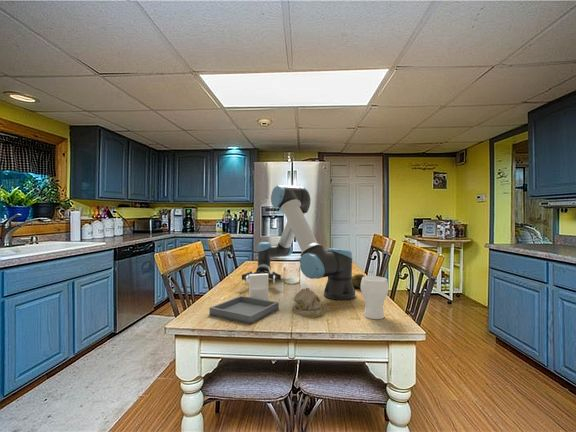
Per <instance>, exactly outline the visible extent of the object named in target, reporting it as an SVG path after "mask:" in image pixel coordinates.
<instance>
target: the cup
mask: <svg viewBox="0 0 576 432" xmlns="http://www.w3.org/2000/svg"><path fill="white" fill-rule="evenodd" d="M364 276H365V275H364ZM360 292H361V295H362V297H363V300H364V305H365V308H364V311H363V312H364V313H363V316H364V317H365V318H367V319H371V320H381V319H384V318H385V313H384V304H385V300H386V299H387V297H388V293H389V282H388V279H387V278H386V277H382V276H378V275H377V276H376V275H367V276H365V277H363V278H362V281H361V288H360Z"/></svg>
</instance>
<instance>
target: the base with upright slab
mask: <svg viewBox="0 0 576 432" xmlns="http://www.w3.org/2000/svg"><path fill="white" fill-rule="evenodd" d="M248 297H251V298H257V299H262V300H268V301H269V279H268V274H267V273H264V274H249V281H248Z"/></svg>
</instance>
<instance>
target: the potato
mask: <svg viewBox="0 0 576 432" xmlns="http://www.w3.org/2000/svg"><path fill="white" fill-rule="evenodd" d="M363 277H365V275H364V274H360V273H357V274H354V275H352V283H353V286H354V288H358V289H359V288H360V289H361V281H362V278H363Z"/></svg>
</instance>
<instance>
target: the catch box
mask: <svg viewBox="0 0 576 432" xmlns="http://www.w3.org/2000/svg"><path fill="white" fill-rule="evenodd" d="M279 307H280V302H278V301H274V300H269V299H268V300H262V299H257V298H251V297H249V296H245V295H239V296H236V297H234V298H231V299H229V300H226V301H223V302H221V303H218V304H215V305H213V306H211V307H209V316H211V317H216V318H220V319H226V320H229V321H235V322H238V323H243V324H247V325H252V324H254V323H256V322H258V321H261V319H264V318H265V317H267V316H269V315H271V314H273V313H275V312H277V311H278V310H279Z"/></svg>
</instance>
